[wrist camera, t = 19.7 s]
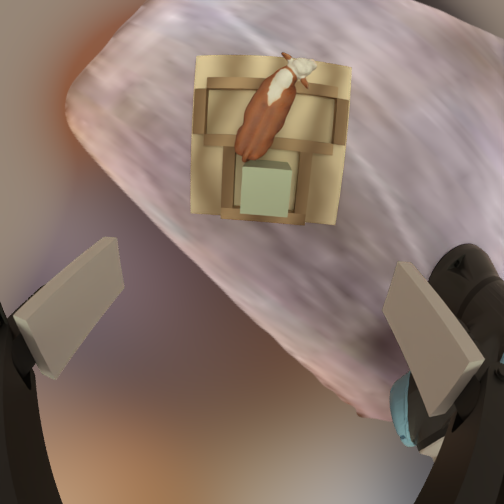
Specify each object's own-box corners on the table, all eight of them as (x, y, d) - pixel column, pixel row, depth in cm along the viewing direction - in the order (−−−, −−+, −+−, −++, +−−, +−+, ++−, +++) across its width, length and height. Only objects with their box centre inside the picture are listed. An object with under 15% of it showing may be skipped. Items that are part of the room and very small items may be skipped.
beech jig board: (349, 68, 29) (354, 65, 27) (333, 222, 38) (337, 228, 36) (198, 57, 30) (193, 53, 28) (192, 211, 39) (187, 216, 37)
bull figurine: (315, 76, 28) (328, 60, 21) (258, 163, 33) (255, 173, 26) (284, 58, 28) (288, 37, 20) (228, 146, 33) (215, 150, 25)
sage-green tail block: (287, 162, 35) (292, 170, 27) (284, 199, 37) (287, 217, 29) (248, 159, 35) (242, 166, 27) (246, 196, 37) (240, 213, 30)
